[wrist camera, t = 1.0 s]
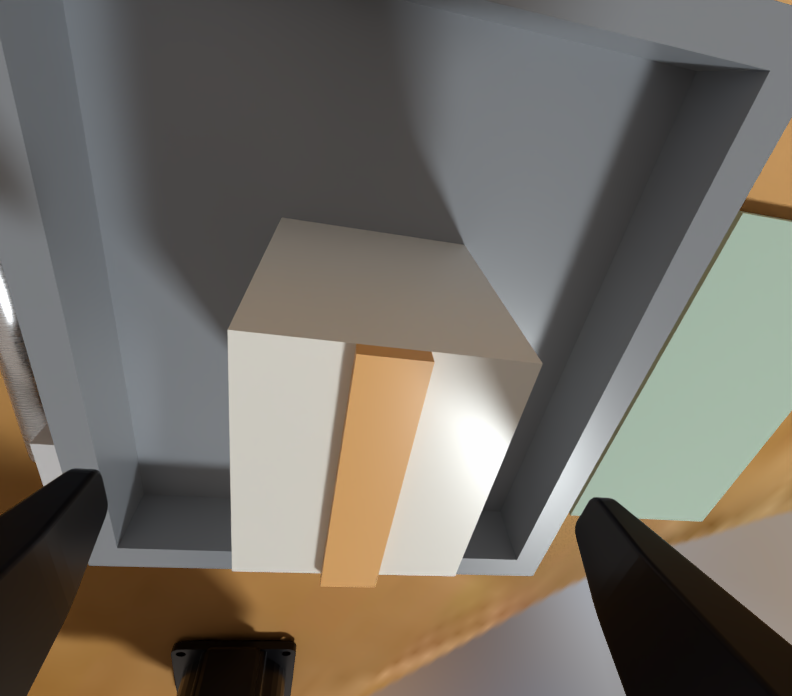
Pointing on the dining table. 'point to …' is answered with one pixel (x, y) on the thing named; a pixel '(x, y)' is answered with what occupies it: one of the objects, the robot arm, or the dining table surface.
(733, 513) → the dining table surface
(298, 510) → the block
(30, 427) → the stay rod
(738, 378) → the pad
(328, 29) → the grey flat square tray
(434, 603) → the dining table surface
